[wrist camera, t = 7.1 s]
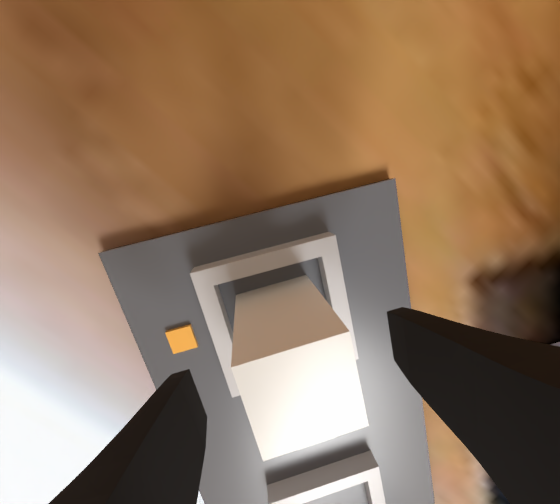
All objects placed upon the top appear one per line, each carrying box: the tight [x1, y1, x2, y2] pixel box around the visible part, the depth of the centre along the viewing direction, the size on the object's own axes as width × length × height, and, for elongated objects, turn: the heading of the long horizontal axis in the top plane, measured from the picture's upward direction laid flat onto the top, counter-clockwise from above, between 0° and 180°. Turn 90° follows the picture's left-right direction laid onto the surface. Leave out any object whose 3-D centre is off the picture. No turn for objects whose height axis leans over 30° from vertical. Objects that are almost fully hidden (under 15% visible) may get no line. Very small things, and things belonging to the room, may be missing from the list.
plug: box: [231, 275, 369, 461], centre depth 11 cm, size 4×4×6 cm
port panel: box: [98, 178, 435, 504], centre depth 15 cm, size 14×24×2 cm, turn 13°
